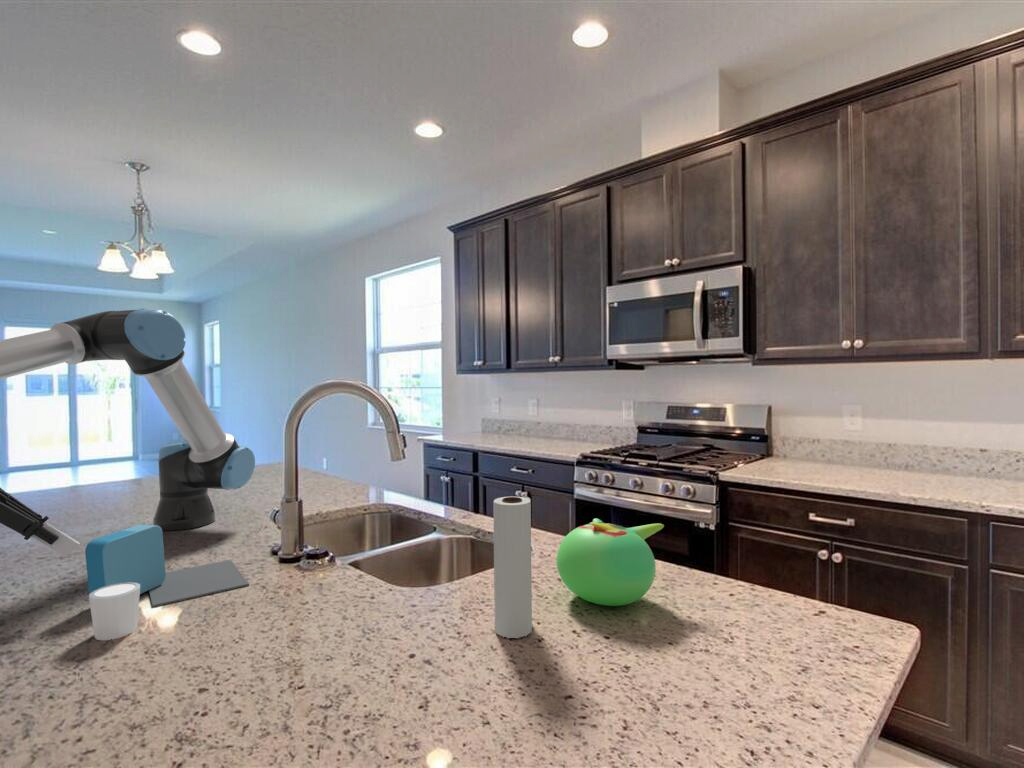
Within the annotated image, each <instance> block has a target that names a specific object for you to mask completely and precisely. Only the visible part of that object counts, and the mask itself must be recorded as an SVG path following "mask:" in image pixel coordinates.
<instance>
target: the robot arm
mask: <svg viewBox="0 0 1024 768" xmlns="http://www.w3.org/2000/svg"><path fill="white" fill-rule="evenodd" d="M185 339H186V333H185V330H184V327H183V325H182V323H180V321H179V319H178V318H176V317H175V316H174V315H172V314H171V313H169V312H168V311H164V310H161V309H152V308H138V309H128V310H126V309H125V310H108V311H107V310H106V311H101V312H96V313H93V314H90V315H86V316H82V317H78V318H76V319H72V320H68V321H64V322H63V321H62V322H58V323H55V324H53V325H52V326H51V327H50V329H48V330H42V331H38V332H35V333H30V334H29V333H28V334H25V335H20V336H15V337H10V338H5V339H0V380H3V379H8V378H12V377H16V376H18V375H22V374H26V373H29V372H35V371H37V370H41V369H45V368H48V367H51V366H56V365H59V364H62V363H63V364H64V363H65V364H68V365H77V364H78V365H79V364H80V363H84V362H91V361H125V362H126V364H127V365H128V367H129V368H130V370H131V371H132V373H133V374H134V376H135V375H136V376H139V377H144V378H145V379H146V381H147V382H148V384H149V386H150V388H151V389H152V390H153V392H154V393H155V395H156V396H157V398H158V399H159V401H160V403H161V405H163V407H164V409H165V411H166V412H167V414H168V415H169V417H170V418H171V420H172V422H173V423H174V425H175V427H177V429H178V431H179V432H180V434H181V436H182V437H183V439H184V440H185V442H179V443H173V444H166V445H163V446H162V447H161V448H160V449H159V451H158V452H159V453H158V460H157V462H158V480H159V483H158V484H159V500H158V501H159V502H158V503H157V507H156V510H155V513H154V517H153V518H152V519H153V520H152V525H157V526H159V527H161V529H162V531H180V530H188V529H189V530H190V529H193V528H198V527H203V526H206V525H209V524H211V523H213V522H214V521H216V511H215V509H214V507H213V503H212V501H211V499H210V496H209V493H208V491H209V490H208V489H212V490H213V489H214V490H215V489H216V490H226V491H228V490H238V489H241V488H242V487H245V485H246V484H248V482H249V481H250V480H251V478H252V476H253V474H254V472H255V466H256V458H255V454H254V452H253V451H252V449H251V448H249V447H247V446H244V445H242V446H240V445H239V444H238V442H237V440H236V439H235V437H234V436H233V435H232V434H231V433H230V432H224V431H223V429H222V428H221V426H220V424H219V422H218V420H217V418H216V417H215V416H214V414H213V412H212V410H211V408H210V407H209V405H208V404H207V402H206V400H205V399H204V396H203V394H202V393H201V391H200V390H199V388H198V386H197V385H196V383H195V382H194V380H193V378H192V376H191V375H190V373H189V371H188V369H187V368H186V366H185V364H184V362H183V359H184V357H185V351H184V348H185V346H186V341H185ZM48 520H50V517H49V516H47V515H45V516H44V517H43V516H42V515H41V514H40V513H37V512H36V511H34V510H33V509H31V508H30V507H28V505H25V504H24V503H23V502H21V501H19V500H18V499H17V498H16V497H14V496H12V495H11V494H9V493H8V492H7V491H5V490H4V489H3V488H2V487H0V524H1V525H3V526H5V527H7V528H9V529H11V530H12V531H15V532H17V533H18V534H20V535H21V536H22V537H23V539H24V540H26V541H28V540H29V539H31V538H33V539H34V540H36V541H39V542H40V543H41V544H43V545H45V546H46V547H48V548H50V549H51V550H53V551H54V552H57V554H58V553H59V554H60V555H62V556H63V557H64V558H68V556H70V554H71V553H73V551H74V550H75V549H77V548H78V547H79V546H80V545H81V544H80V542H79V541H78V540H76V539H74V538H72V537H71V536H70V535H68V534H66V533H65V532H63V531H61V530H60V529H58V528H56V527H55V526H54V525H52V524H50V523H49V522H47V521H48Z"/></svg>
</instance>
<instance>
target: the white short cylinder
mask: <svg viewBox="0 0 1024 768" xmlns="http://www.w3.org/2000/svg"><path fill="white" fill-rule="evenodd" d="M140 595H141V594H140V584H138V583H132V582H129V583H119V584H113V585H109V586H105V587H102V588H100V589H97V590H95V591H93V592H92V593H90V595H89V594H88V601H89V608H90V613H91V620H92V627H93V629H92V630H93V634H94V638H95V639H96V640H98V641H111V639H112V640H116V639H121V638H122V637H123V636H124V637H126V636H128V634H129V635H130V634H133V633H134V632H135V631H137V629H138V621H139V608H140Z"/></svg>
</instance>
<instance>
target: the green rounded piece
mask: <svg viewBox="0 0 1024 768" xmlns="http://www.w3.org/2000/svg"><path fill="white" fill-rule="evenodd" d="M664 527H665V525H664V523H663V524H662V523H650V524H645V525H643V524H642V525H639V526H632V527H624V526H622V525H618V524H615V523H614V524H613V523H609V522H608V523H606V522H603V520H601V519H599V518H597V517H596V518H593V519H592V521H591V522H589V523H587V524H583V525H580V526H578V527H575V528H574V529H573V530H571V531H569V533H567V534H566V535H565V536H564V538H563V539H562V540H561V542H560V544H559V546H558V549H557V554H556V565H557V571H558V575H559V577H560V579H561V580H562V582H563V584H564V585H565V586H566V587H567V589H569V590H570V592H572V593H573V594H575V596H577V597H579V598H581V599H582V600H584V601H587V602H590V603H592V604H595V605H599V606H600V605H601V606H606V607H619V606H625V605H629V604H632V603H634V602H637V601H638V600H640V599H641V598H643V596H645V595H646V593H647V592H649V590H650V588H651V587H652V585H653V583H654V580H655V576H656V566H657V565H656V560H655V555H654V553H653V551H652V549H651V548H650V546H649V544H648V542H646V541H645V540H646V539H647V538H649V537H651V536H652V535H655V534H656V533H657V532H660V531H661V530H662V529H663V528H664Z"/></svg>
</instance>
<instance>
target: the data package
mask: <svg viewBox="0 0 1024 768" xmlns="http://www.w3.org/2000/svg"><path fill="white" fill-rule="evenodd" d="M84 553H85V562H86V563H85V565H86V575H87V586H88V587H87V589H88V596H89V595H90V593H92V592H93V591H95V590H97V589H100V588H102V587H105V586H109V585H113V584H119V583H129V582H132V583H138V584H140V595H142V594H144V593H145V592H149V591H148V590H151V589H153V588H155V587H157V586H159V585H161V584H162V583H163V581H164V580H165V577H166V561H165V560H166V559H165V549H164V535H163V530H162V529H161V527H159V526H157V525H153V524H152V525H151V524H137V525H133V526H130V527H128V528H125V529H121V530H118V531H115V532H113V533H110V534H107V535H104V536H100V537H98V538H94V539H92V540H90V541H88V544H87V545H86V546H85V550H84Z"/></svg>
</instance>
